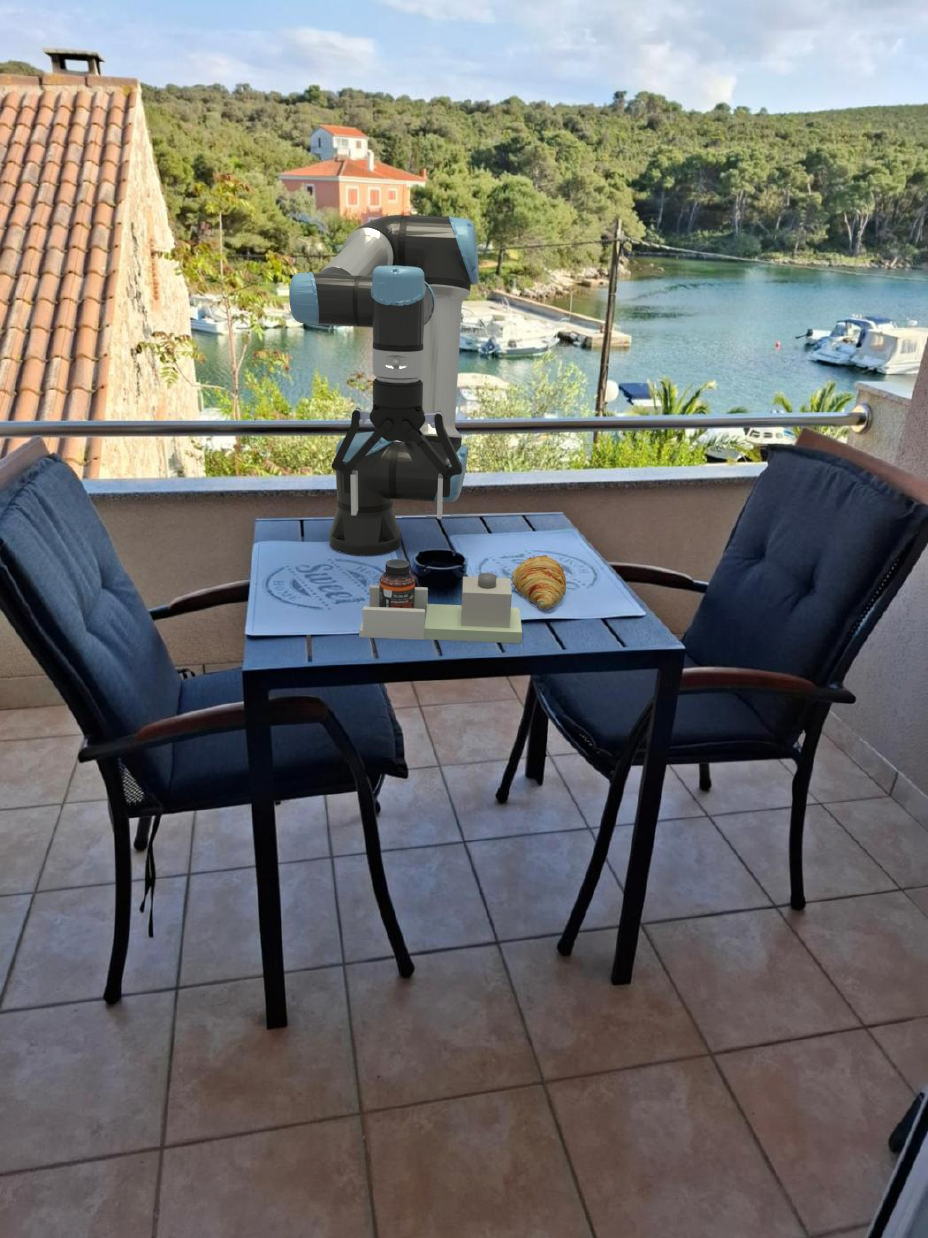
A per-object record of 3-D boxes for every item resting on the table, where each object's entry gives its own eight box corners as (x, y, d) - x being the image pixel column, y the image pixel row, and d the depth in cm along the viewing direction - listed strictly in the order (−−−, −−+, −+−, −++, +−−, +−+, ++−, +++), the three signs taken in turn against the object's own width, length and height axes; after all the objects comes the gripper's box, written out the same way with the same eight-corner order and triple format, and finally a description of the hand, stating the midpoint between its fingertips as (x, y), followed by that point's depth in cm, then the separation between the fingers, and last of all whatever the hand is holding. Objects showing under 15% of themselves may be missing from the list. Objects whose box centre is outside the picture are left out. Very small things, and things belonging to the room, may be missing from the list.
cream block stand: (366, 611, 146) (366, 559, 142) (518, 617, 146) (522, 566, 142) (359, 637, 136) (358, 582, 132) (521, 643, 136) (525, 589, 132)
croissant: (560, 632, 150) (585, 596, 147) (513, 607, 147) (537, 571, 144) (542, 584, 169) (564, 552, 166) (500, 562, 166) (521, 529, 163)
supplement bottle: (390, 635, 137) (391, 572, 133) (372, 622, 142) (372, 560, 137) (421, 627, 141) (422, 565, 136) (402, 615, 145) (402, 554, 140)
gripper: (309, 378, 121) (315, 518, 130) (481, 386, 121) (475, 525, 130) (318, 370, 127) (323, 504, 136) (481, 377, 128) (475, 510, 137)
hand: (397, 514), depth 133 cm, fingers open, 13 cm apart
